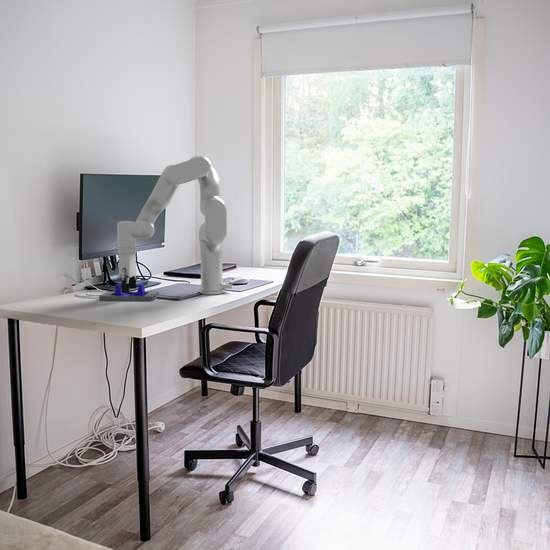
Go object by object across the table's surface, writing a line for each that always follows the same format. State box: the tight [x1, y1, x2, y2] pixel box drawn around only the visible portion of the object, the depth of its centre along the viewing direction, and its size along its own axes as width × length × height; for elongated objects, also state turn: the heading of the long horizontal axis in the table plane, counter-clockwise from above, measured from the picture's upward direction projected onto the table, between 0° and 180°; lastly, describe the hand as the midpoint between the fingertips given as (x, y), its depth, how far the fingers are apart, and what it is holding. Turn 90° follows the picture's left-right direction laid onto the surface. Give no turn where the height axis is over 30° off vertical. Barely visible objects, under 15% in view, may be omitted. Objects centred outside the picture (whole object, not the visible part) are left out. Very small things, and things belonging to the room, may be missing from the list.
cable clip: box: [113, 283, 146, 296], centre depth 275 cm, size 12×4×6 cm, turn 82°
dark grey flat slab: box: [98, 291, 160, 302], centre depth 275 cm, size 23×10×2 cm, turn 85°
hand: (129, 290), depth 274 cm, fingers open, 9 cm apart
